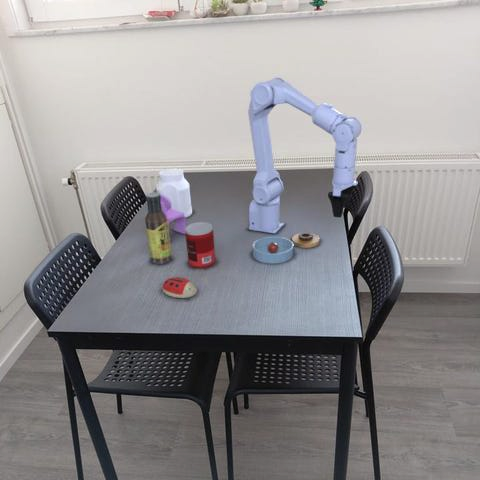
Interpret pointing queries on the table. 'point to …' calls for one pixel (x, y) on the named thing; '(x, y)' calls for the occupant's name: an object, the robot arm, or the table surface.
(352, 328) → the table surface
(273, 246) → the ball
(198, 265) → the canned food
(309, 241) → the holder
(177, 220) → the toy chair
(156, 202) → the sauce bottle
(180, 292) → the ladybug figurine
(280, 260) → the light blue bowl
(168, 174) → the jar
